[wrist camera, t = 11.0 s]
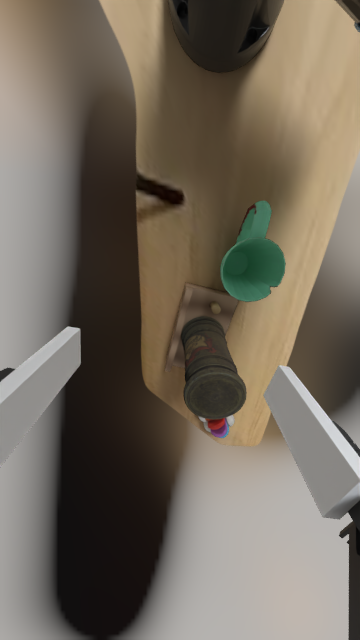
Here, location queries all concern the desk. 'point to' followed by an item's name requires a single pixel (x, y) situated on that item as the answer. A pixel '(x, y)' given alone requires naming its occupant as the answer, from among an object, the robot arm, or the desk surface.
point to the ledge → (196, 305)
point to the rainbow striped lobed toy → (218, 425)
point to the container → (210, 371)
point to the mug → (253, 258)
